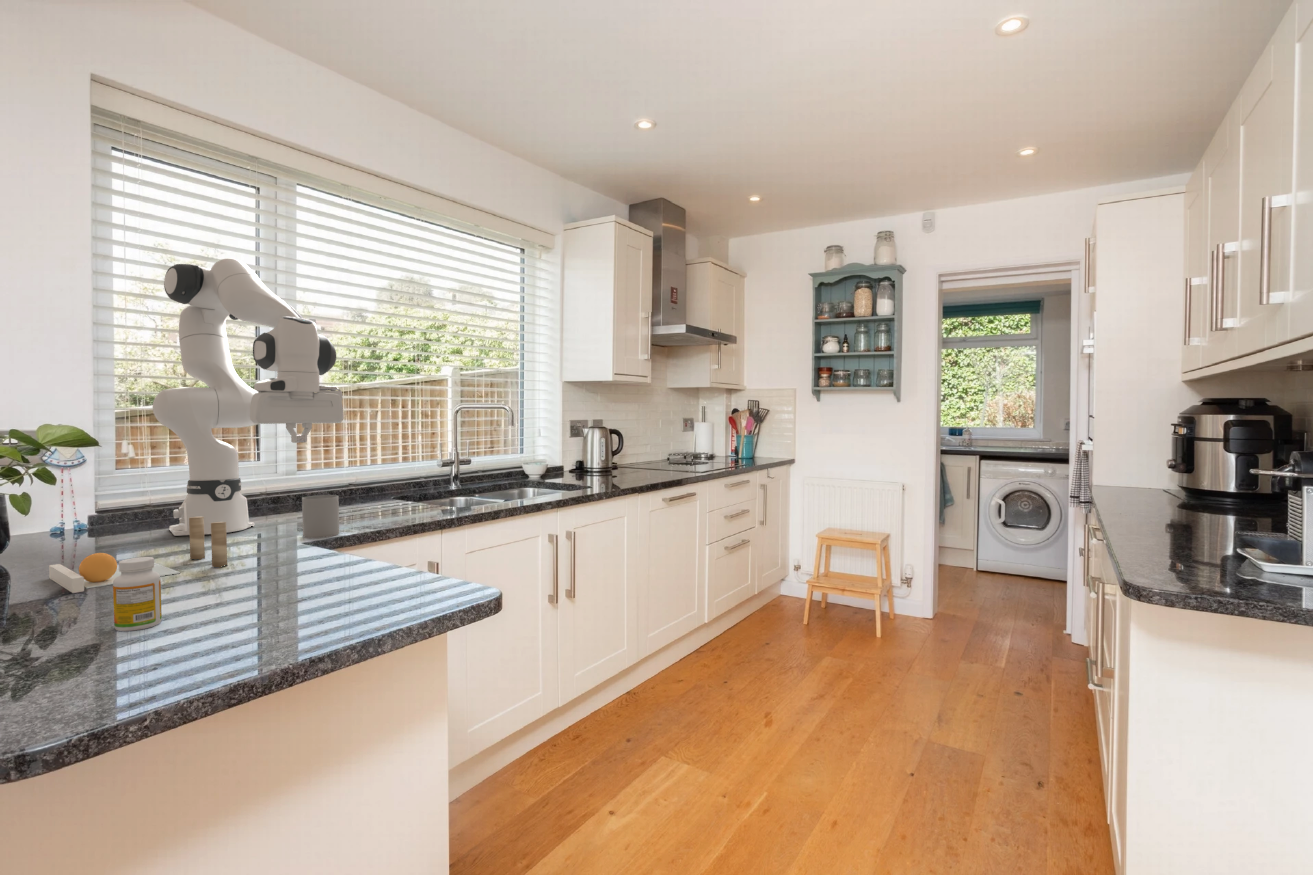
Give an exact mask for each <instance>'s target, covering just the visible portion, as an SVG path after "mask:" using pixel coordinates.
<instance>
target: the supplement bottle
mask: <svg viewBox="0 0 1313 875" xmlns="http://www.w3.org/2000/svg"><path fill="white" fill-rule="evenodd" d="M154 564H155V558H154V556H153V557H152V556H140V557H139V556H138V557H132V558H125V559H123V560H119V561H118V569H119V572H121V575H120V576H118V577H116V578H115V579H114V581H113V584H112V594H113V595H112V596H113V597H112V598H113V600H112V601H113V603H112V604H113V625H114V626H113V627H114V629H115V630H116V631H118V632H132V631H140V630H145V629H150V628H152V627H155V626H157V625H159V624H160V623H161V622H162V620H163V619H162V618H163V617H162V616H163V615H162V588H161V587H162V586H161V585H162V582H161V577H160V575H159V573H157V572H155V571H152V568H154Z"/></svg>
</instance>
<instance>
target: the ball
mask: <svg viewBox="0 0 1313 875" xmlns="http://www.w3.org/2000/svg"><path fill="white" fill-rule="evenodd" d="M117 569H118V562H117V560H116V558H115V557H114V556H113V555H111V554H108V553H106V552H105V553H104V552H95V553H92V554H89V555H88V556H86V557H85V558H83V560H81V562H80V564H79V566H78V572H79V573H78V574H79V575H81V576H82V577H84V579H85V580H86V581H89V582H102V581H105V580H107V579H109V578H111V577H112V576H113V575H114V574H115V572H116V570H117Z"/></svg>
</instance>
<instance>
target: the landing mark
mask: <svg viewBox="0 0 1313 875" xmlns="http://www.w3.org/2000/svg"><path fill="white" fill-rule="evenodd" d="M152 571H155V572H157V573H159V575H160V576H161V577H166V576H165V575H168V576H172V574H174V575H179V573H180V574H181V572H180V571H178V570H175V569H173V568H171V567H168V566H165V565H162V564H160V563H156V562H154V568H152ZM120 575H121V572H119V568H117V570H116V572H115V574H114V575H113V576H112V577H111V578H109V579H107V580H105V581H102V582H89V581H86V580H85V579H84V589H93V588H94V589H95V588H100V587H105V586H113V581H114V579H115V578H116V577H118V576H120Z"/></svg>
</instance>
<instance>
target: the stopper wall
mask: <svg viewBox="0 0 1313 875" xmlns="http://www.w3.org/2000/svg"><path fill="white" fill-rule="evenodd" d="M48 570H49V571H48V572H49V579H50V580H51V581H53V582H55V583H56V584H58V585H59V586H61V587H62V588H64V589H65V590H67V591H69V592H70V593H71V594H75V593H83V592H85V587H84V577H82V576H81V575H80V573H77V572H75V571H73V570H72V569H69V568H68V567H66V566H65V565H62V564H61V563H56V564H49V565H48Z"/></svg>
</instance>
